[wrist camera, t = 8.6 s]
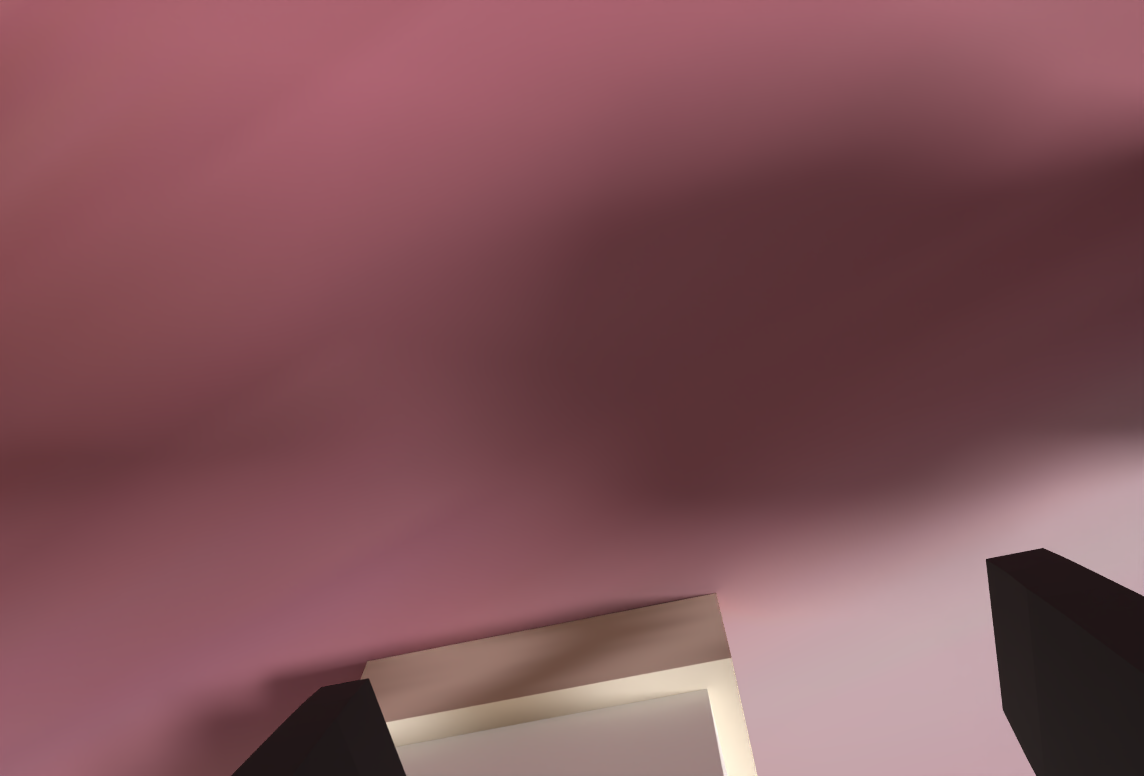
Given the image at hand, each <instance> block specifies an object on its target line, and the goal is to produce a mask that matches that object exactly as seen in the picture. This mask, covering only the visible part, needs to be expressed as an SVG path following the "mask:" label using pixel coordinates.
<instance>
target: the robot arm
mask: <svg viewBox="0 0 1144 776" xmlns="http://www.w3.org/2000/svg"><path fill="white" fill-rule="evenodd" d="M986 565H987V574H988V582H989V591H990V600H991V609H992V618H993V626H994V635H995V644H996V653H997V662H998V671H999V679H1000V688H1001V697H1002V706H1003V711H1004V713H1005V715H1006V717H1007V719H1008V721H1009V723H1010V725H1011V727H1012V729H1013V731H1014V733H1015V735H1016V737H1017V739H1018V741H1019V743H1020V745H1021V747H1022V749H1023V751H1024V753H1025V755H1026V757H1027V759H1028V761H1029V763H1030V765H1031V767H1032V769H1033V770H1034V772H1035V774H1036V776H1144V596H1142V595H1140V594H1138V593H1136V592H1134V591H1132V590H1130V589H1128V588H1126V587H1124V586H1122V585H1120V584H1118V583H1116V582H1114V581H1112V580H1110V579H1108V578H1105V577H1103V576H1101V575H1099V574H1097V573H1095V572H1093V571H1091V570H1089V569H1087V568H1085V567H1083V566H1081V565H1079V564H1077V563H1075V562H1073V561H1071V560H1069V559H1066V558H1064V557H1062V556H1060V555H1058V554H1055V553H1053V552H1051V551H1049V550H1046V549H1044V548H1041V549H1036V550H1031V551H1025V552H1020V553H1015V554H1010V555H1005V556H999V557H994V558H989V559H986ZM231 776H406V774H405V771H404V769H403V766H402V763H401V761H400V758H399V755H398V753H397V750H396V748H395V745H394V742H393V740H392V737H391V735H390V732H389V729H388V727H387V724H386V721H385V719H384V716H383V714H382V711H381V708H380V706H379V703H378V701H377V698H376V695H375V693H374V690H373V687H372V685H371V682H370V680H369V678H367V679H362V680H356V681H351V682H346V683H341V684H336V685H330V686H325V687H321V688H320V689H319V690H318V691H316V692H315V693H314V694H313V695H312V696H311V697H310V698H308V699H307V700H306V701H305V702H304V703H303V704H302V705H301V706H300V707H299V708H298V709H297V710H296V711H295V712H294V713H293V714H292V715H291V716H290V717H289V718H288V719H287V720H286V721H285V722H284V723H283V724H282V725H281V726H280V727H279V728H278V729H277V730H276V731H275V732H274V733H273V734H272V735H271V736H270V737H269V738H268V739H267V740H266V741H265V742H264V743H263V744H262V745H261V746H260V747H259V748H258V749H257V750H256V751H255V752H254V753H253V754H252V755H251V756H250V757H249V758H248V759H247V760H246V761H245V762H244V763H243V764H242V765H241V766H240V767H239V768H238V769H237V770H236V771H235V772H234V773H233V774H232V775H231Z"/></svg>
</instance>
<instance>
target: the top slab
mask: <svg viewBox="0 0 1144 776" xmlns="http://www.w3.org/2000/svg"><path fill="white" fill-rule="evenodd" d="M395 748H396V750H397V753H398V755H399V758H400V761H401V763H402V766H403V769H404V771H405V774H406V776H728V775H727V770H726V766H725V762H724V758H723V753H722V749H721V745H720V741H719V736H718V732H717V728H716V724H715V719H714V715H713V711H712V707H711V702H710V698H709V694H708V690H707V689H704V690H698V691H693V692H688V693H682V694H677V695H671V696H666V697H661V698H655V699H650V700H645V701H639V702H634V703H628V704H623V705H618V706H612V707H607V708H602V709H596V710H591V711H585V712H580V713H575V714H569V715H564V716H558V717H553V718H548V719H542V720H537V721H532V722H527V723H521V724H516V725H511V726H505V727H500V728H495V729H489V730H484V731H479V732H473V733H468V734H463V735H457V736H452V737H447V738H441V739H436V740H431V741H425V742H420V743H415V744H409V745H404V746H399V747H395Z"/></svg>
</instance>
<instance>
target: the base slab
mask: <svg viewBox="0 0 1144 776" xmlns="http://www.w3.org/2000/svg"><path fill="white" fill-rule="evenodd" d="M367 678H369V680H370V682H371V685H372V687H373V690H374V693H375V695H376V698H377V701H378V703H379V706H380V708H381V711H382V714H383V716H384V719H385V721H386V724H387V727H388V729H389V732H390V735H391V737H392V740H393V742H394V745H395V747H399V746H404V745H409V744H415V743H420V742H425V741H431V740H436V739H441V738H447V737H452V736H457V735H463V734H468V733H473V732H479V731H484V730H489V729H495V728H500V727H505V726H511V725H516V724H521V723H527V722H532V721H537V720H542V719H548V718H553V717H558V716H564V715H569V714H575V713H580V712H585V711H591V710H596V709H602V708H607V707H612V706H618V705H623V704H628V703H634V702H639V701H645V700H650V699H655V698H661V697H666V696H671V695H677V694H682V693H688V692H693V691H698V690H704V689H707V690H708V694H709V698H710V702H711V707H712V711H713V715H714V719H715V724H716V728H717V732H718V736H719V741H720V745H721V749H722V753H723V758H724V762H725V766H726V770H727V775H728V776H757V772H756V768H755V763H754V758H753V754H752V749H751V745H750V740H749V736H748V731H747V727H746V722H745V717H744V713H743V708H742V704H741V699H740V695H739V690H738V685H737V681H736V676H735V672H734V667H733V663H732V658H731V654H730V650H729V645H728V641H727V637H726V633H725V628H724V624H723V620H722V616H721V612H720V607H719V603H718V599H717V595H716V593H714V594H709V595H704V596H699V597H694V598H689V599H683V600H678V601H673V602H668V603H663V604H658V605H653V606H648V607H643V608H637V609H632V610H627V611H622V612H617V613H612V614H607V615H602V616H597V617H591V618H586V619H581V620H576V621H571V622H566V623H561V624H556V625H551V626H545V627H540V628H535V629H530V630H525V631H520V632H515V633H510V634H505V635H500V636H494V637H489V638H484V639H479V640H474V641H469V642H464V643H459V644H454V645H448V646H443V647H438V648H433V649H428V650H423V651H418V652H413V653H408V654H402V655H397V656H392V657H387V658H382V659H377V660H372V661H367V664H366V666H365V669H364V671H363V674H362V676H361V679H360V680H362V679H367Z"/></svg>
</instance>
